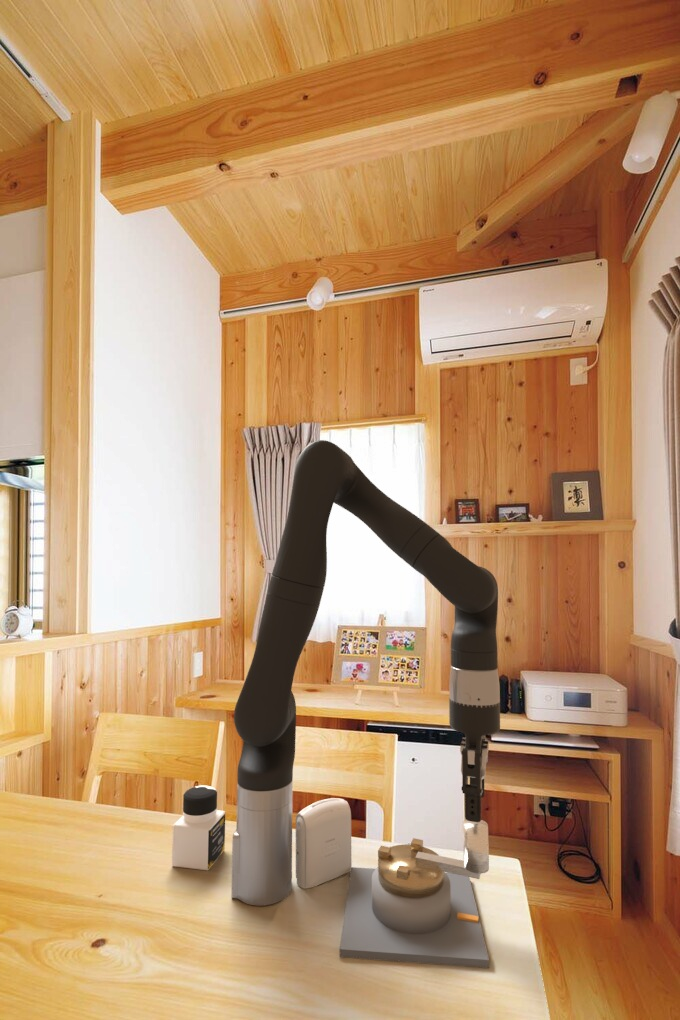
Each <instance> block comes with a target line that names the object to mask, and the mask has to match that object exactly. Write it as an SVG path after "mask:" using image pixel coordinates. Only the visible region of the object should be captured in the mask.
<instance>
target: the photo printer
mask: <svg viewBox="0 0 680 1020" xmlns="http://www.w3.org/2000/svg"><path fill="white" fill-rule="evenodd" d="M351 867H352V810H351V808H350V805H349V803H348V801H347V800H345V799H344V798H340V797H339V798H338V797H330V798H325V799H320V800H318V801H315V802H313V803H312V804H310V805H307V806H306V807H304V808H302V809H301V810H300V811H299V812H298V813H297V814H296V816H295V879H296V884H297V886H298V887H299V888H301V889H304V890H305V889H310V888H314V887H317V886H318V885H321V884H324V883H326V882H329V881H333V880H335V879H337V878H338V877H341V876H343V875H345V874H347V873H349V872H351Z"/></svg>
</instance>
